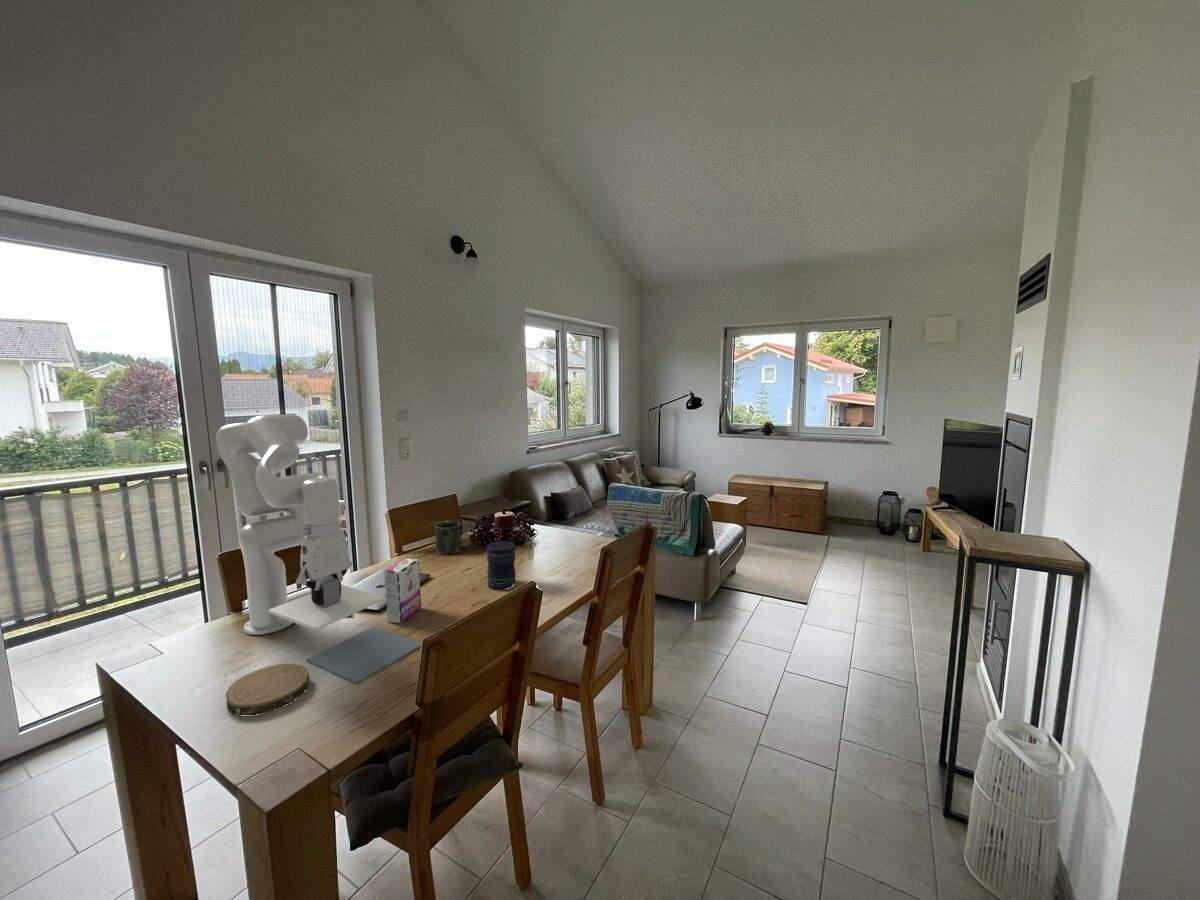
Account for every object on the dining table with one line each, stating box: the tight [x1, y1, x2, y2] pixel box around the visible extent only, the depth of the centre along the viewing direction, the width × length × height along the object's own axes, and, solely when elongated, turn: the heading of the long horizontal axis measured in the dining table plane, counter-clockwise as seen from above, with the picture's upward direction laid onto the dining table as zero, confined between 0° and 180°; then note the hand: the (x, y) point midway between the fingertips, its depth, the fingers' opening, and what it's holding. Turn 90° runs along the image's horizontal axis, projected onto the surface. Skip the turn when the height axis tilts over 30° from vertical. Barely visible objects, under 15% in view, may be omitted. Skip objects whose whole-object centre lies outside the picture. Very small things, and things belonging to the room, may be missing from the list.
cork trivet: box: [225, 663, 310, 715], centre depth 114 cm, size 16×16×3 cm
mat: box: [305, 626, 422, 685], centre depth 131 cm, size 20×20×1 cm
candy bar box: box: [384, 558, 422, 625], centre depth 152 cm, size 11×5×16 cm, turn 168°
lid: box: [268, 575, 384, 632], centre depth 122 cm, size 18×18×7 cm
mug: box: [433, 520, 463, 556], centre depth 212 cm, size 11×15×12 cm
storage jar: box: [486, 540, 516, 591], centre depth 175 cm, size 10×10×15 cm
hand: (327, 599), depth 122 cm, fingers closed on lid, 4 cm apart
